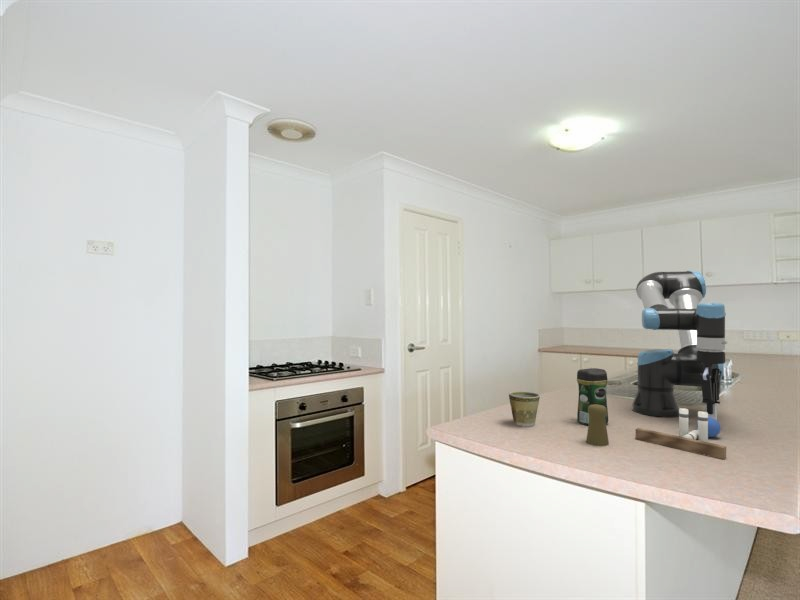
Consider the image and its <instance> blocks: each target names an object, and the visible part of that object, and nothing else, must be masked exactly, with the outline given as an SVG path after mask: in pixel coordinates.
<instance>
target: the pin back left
mask: <svg viewBox="0 0 800 600" xmlns="http://www.w3.org/2000/svg"><path fill="white" fill-rule="evenodd" d="M689 417H690V415H689V409H688V408H684V407H679V415H678V436H680V437H683V436H684V435H685V434H687V433H689V423H690V422H689Z"/></svg>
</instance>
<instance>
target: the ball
mask: <svg viewBox="0 0 800 600" xmlns="http://www.w3.org/2000/svg"><path fill="white" fill-rule="evenodd" d="M721 429H722V428H721V424H720V422H719V421H718V419H717V420H715V419H714V418H711V417H708V438H715V437H717V436H718V435H719V434H721V433H720V432H721ZM696 430H698V421H696Z"/></svg>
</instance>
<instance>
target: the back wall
mask: <svg viewBox="0 0 800 600" xmlns="http://www.w3.org/2000/svg"><path fill="white" fill-rule="evenodd" d="M635 440H638V441H643V442H646V441H647V442H646V443H652V444H655V445H660V446H663V447H669V448H672V447H673V448H674V449H677V450H681V451H685V450H686V452H690V451H691V452H690V453H694V452H695V453H694V454H698V453H700V454H699V455H703V454H705V455H704V456H707V455H709V456H708V457H711V456H713V458H716V457H717V458H716V459H720V458H721V460H725V459H726V458H727V446H726V445H723V444H717V443H711V442H709V441H708V442H703V441H699V440H698V439H696V440H694V439H689V438H684V437H680V436H679V435H674V434H670V433H665V432H660V431H655V430H650V429H646V428H641V427H637V428H635Z"/></svg>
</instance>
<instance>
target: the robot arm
mask: <svg viewBox="0 0 800 600" xmlns="http://www.w3.org/2000/svg"><path fill="white" fill-rule="evenodd" d="M635 290H636V291H635V293H636V295H637V297H638V298H639V300H641V302H642V305H643V307H644V309H643V310H642V312H641V325H642V328H643V329H645V330H653V331H657V330H663V331H665V330H667V331H668V330H669V331H671V330H672V331H676V330H677V332H678V337H679V344H680V348H679V349H678V351H677V353H675V351H674V350H673V349H670V348H664V349H663V348H662V349H661V348H660V349H658V348H657V349H656V348H655V349H649V350H643V351H640V352H639V353H638V356H637V362H636V365H637V390H636V391H637V392H636V393H635V397H634V399H633V401H632V410H633V412H635V413H638V414H642V415H647V416H653V417H654V416H655V417H666V418H667V417H668V418H669V417H671V418H672V417H677V416H678V417H679V408H680V407H679V405H678V402H677V399H676V395H675V393H674V387H675V386H682V387H683V386H684V387H697V388H698V387H700V388H701V393H702V401H701V403H703V404H705V405H704V406H705V411H704V412H707V413H708V417H711V418H714V419H715V420H717V421H718V404H719V405H720V404H721V401H720V393H721V392H720V391H721V389H720V388H721V383H722V380H723V375H724V364H725V363H726V352H725V350H726V344H728V341H727V340H726V308H725V304H724V303H722V302H702V300H703V299H704V298H705V297H706V295H707V294H706V293H707V286H706V280H705V277H704V275H703V274H702V273H701V272H699V271H695V270H685V271H656V272H652V273H650V274H647V275H646V276H644V277H642V278H641V279H640V280H639V281H638V282H637V285H636V288H635ZM666 300H668V302H669V303H670V304H671V305H672V306H674V308H669V306H668V303H667V301H666Z"/></svg>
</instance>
